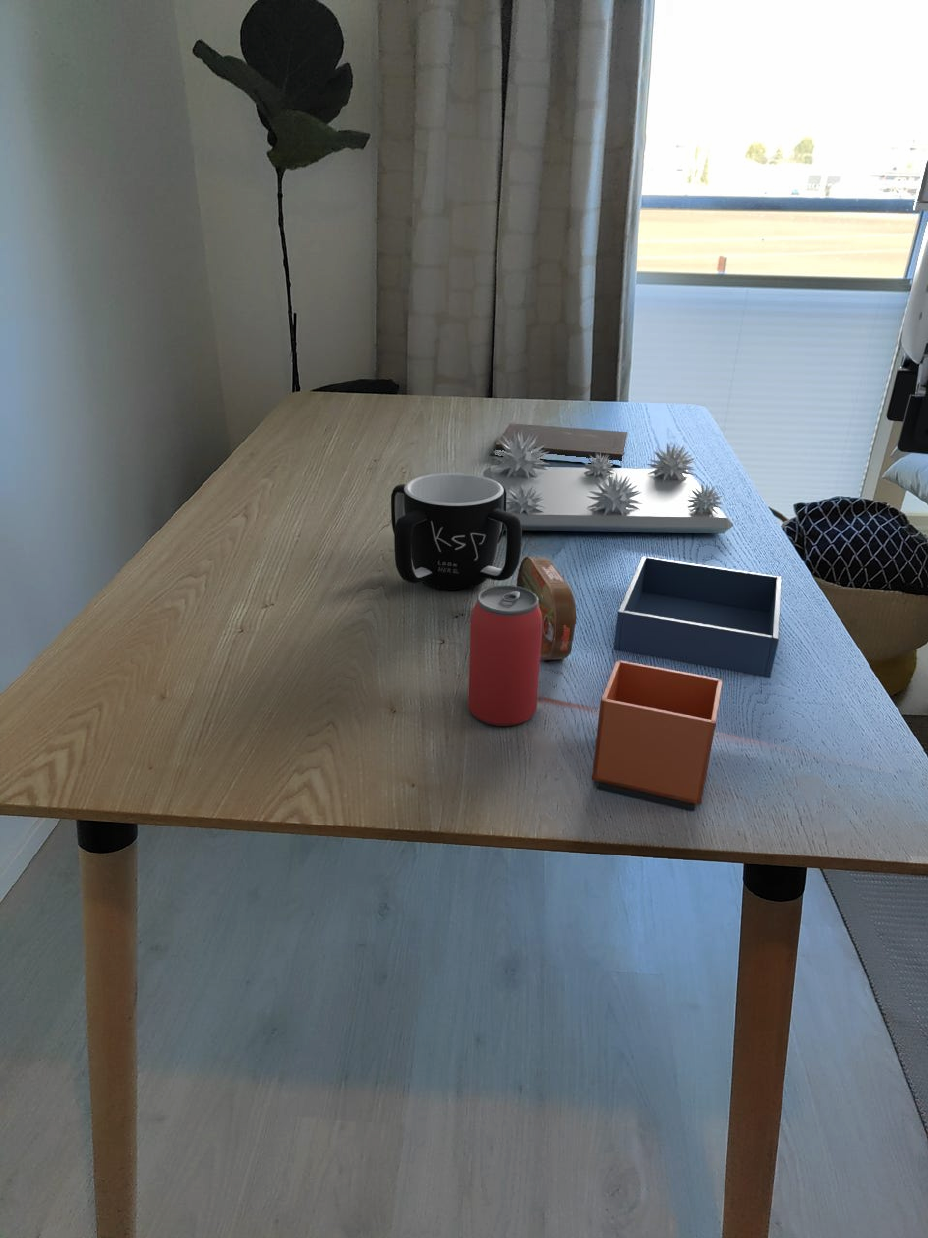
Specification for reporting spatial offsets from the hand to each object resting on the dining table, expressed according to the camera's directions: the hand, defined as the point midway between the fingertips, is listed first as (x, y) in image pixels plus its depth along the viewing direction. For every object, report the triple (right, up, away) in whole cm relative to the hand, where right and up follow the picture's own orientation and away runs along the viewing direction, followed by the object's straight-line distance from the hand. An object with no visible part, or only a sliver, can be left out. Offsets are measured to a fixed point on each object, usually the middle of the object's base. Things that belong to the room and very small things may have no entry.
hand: (912, 435), depth 66 cm
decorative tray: (-14, +3, +67) cm, 69 cm away
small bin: (-19, -27, +8) cm, 34 cm away
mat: (-19, -27, +8) cm, 34 cm away
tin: (-26, -17, +28) cm, 42 cm away
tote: (-8, -16, +31) cm, 35 cm away
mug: (-36, -9, +43) cm, 57 cm away
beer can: (-31, -23, +16) cm, 42 cm away
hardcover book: (-16, +18, +95) cm, 98 cm away
